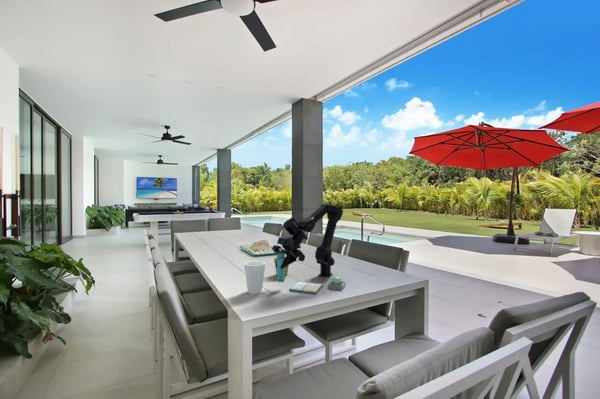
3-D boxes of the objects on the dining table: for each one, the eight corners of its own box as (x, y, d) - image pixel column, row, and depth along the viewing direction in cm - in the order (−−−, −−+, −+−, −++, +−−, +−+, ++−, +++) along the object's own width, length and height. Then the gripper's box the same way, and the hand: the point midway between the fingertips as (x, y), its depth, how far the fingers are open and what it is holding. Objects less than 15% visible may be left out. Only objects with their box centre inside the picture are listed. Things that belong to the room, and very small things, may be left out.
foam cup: (250, 296, 124) (249, 266, 124) (241, 290, 131) (241, 262, 131) (269, 292, 129) (268, 263, 129) (259, 286, 137) (259, 259, 137)
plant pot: (289, 277, 153) (289, 261, 152) (272, 277, 153) (272, 261, 153) (290, 272, 162) (290, 257, 162) (274, 272, 162) (274, 257, 162)
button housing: (331, 283, 141) (331, 279, 141) (345, 285, 139) (345, 281, 139) (327, 288, 135) (327, 284, 135) (342, 289, 132) (342, 285, 132)
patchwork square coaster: (298, 283, 142) (298, 280, 142) (323, 285, 138) (323, 283, 138) (288, 291, 130) (288, 289, 130) (315, 294, 126) (315, 292, 126)
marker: (278, 279, 136) (278, 252, 135) (285, 280, 134) (285, 253, 134) (275, 281, 132) (275, 254, 132) (282, 282, 131) (282, 254, 131)
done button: (333, 281, 140) (333, 276, 140) (342, 282, 138) (342, 276, 138) (331, 284, 135) (331, 278, 135) (340, 285, 134) (340, 279, 134)
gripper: (274, 229, 142) (256, 254, 135) (300, 232, 129) (282, 260, 122) (286, 242, 148) (269, 267, 141) (312, 247, 135) (295, 275, 127)
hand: (278, 267), depth 132 cm, fingers closed on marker, 3 cm apart
